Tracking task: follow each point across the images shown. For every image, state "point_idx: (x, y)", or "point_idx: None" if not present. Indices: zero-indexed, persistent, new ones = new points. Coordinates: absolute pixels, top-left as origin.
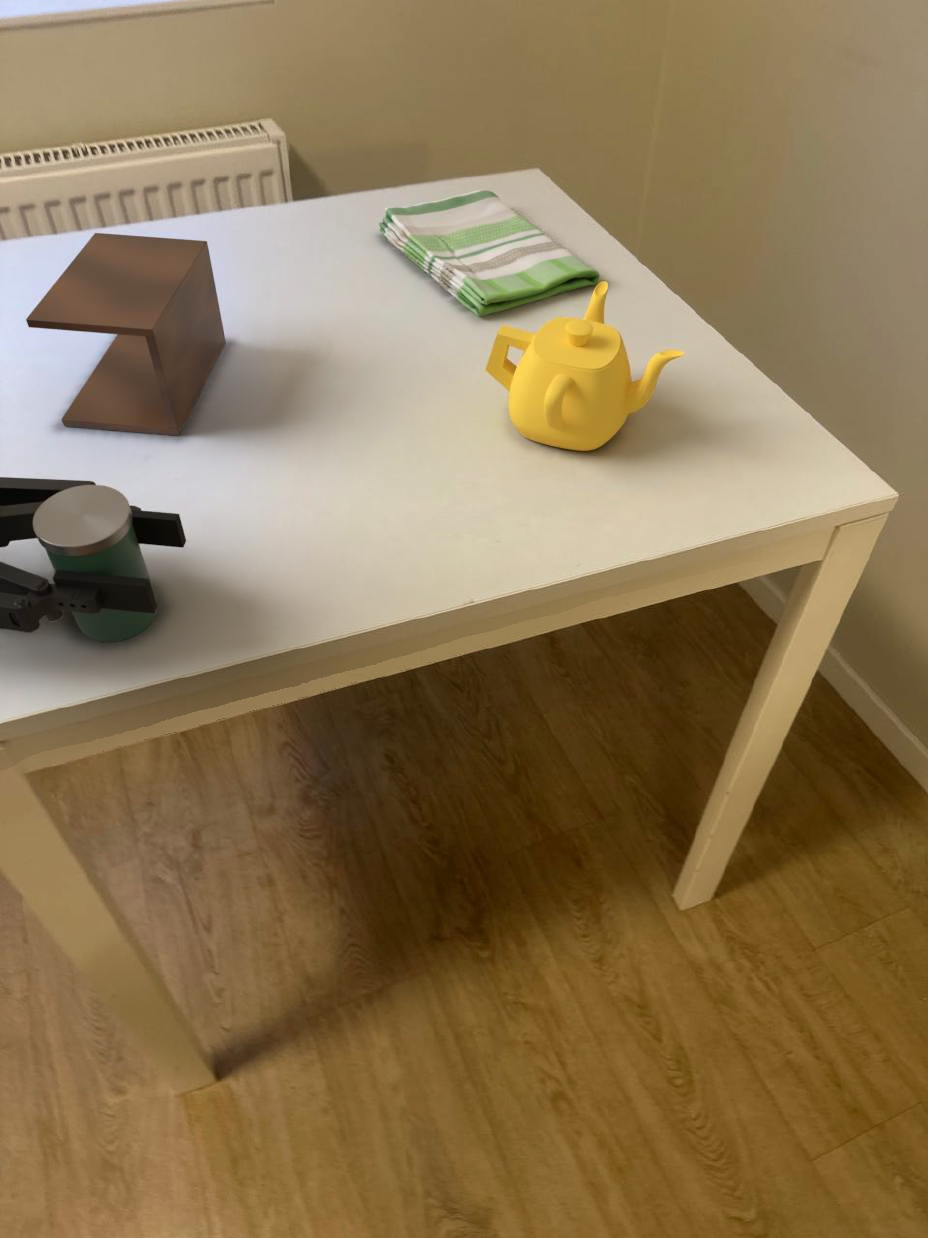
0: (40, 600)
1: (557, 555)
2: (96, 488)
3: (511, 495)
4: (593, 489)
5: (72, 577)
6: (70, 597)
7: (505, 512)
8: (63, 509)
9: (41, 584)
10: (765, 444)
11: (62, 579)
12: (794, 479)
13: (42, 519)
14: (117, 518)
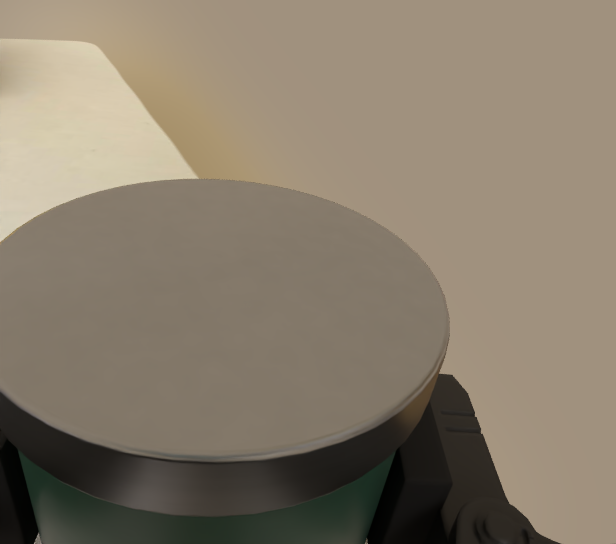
0: (542, 540)
1: (129, 129)
2: (27, 247)
3: (6, 136)
4: (25, 103)
5: (421, 417)
6: (477, 437)
7: (39, 142)
8: (190, 326)
9: (504, 517)
10: (5, 50)
11: (441, 448)
12: (61, 53)
13: (283, 398)
14: (246, 194)
